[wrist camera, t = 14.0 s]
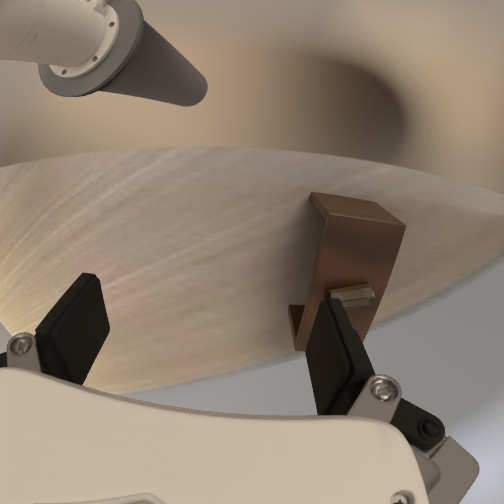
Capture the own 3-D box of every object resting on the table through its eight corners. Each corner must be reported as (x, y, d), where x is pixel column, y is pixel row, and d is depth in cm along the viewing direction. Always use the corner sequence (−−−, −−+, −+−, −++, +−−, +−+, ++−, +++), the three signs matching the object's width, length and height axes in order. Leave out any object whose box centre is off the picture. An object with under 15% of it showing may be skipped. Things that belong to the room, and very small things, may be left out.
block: (326, 285, 33) (330, 294, 31) (372, 280, 32) (377, 288, 31) (325, 309, 34) (328, 318, 33) (368, 303, 34) (373, 312, 32)
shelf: (311, 191, 37) (329, 213, 29) (375, 201, 38) (406, 225, 29) (287, 310, 46) (295, 351, 37) (343, 312, 47) (358, 351, 38)
